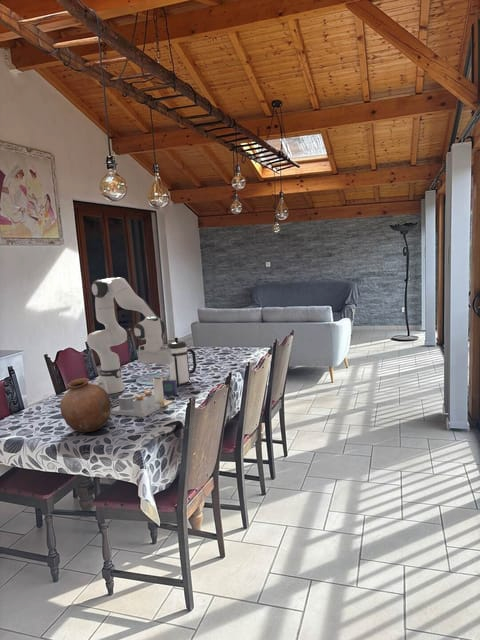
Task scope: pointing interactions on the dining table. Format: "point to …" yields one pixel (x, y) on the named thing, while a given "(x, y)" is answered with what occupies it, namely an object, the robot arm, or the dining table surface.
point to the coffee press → (180, 362)
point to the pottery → (85, 406)
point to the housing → (136, 405)
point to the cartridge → (158, 390)
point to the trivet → (165, 403)
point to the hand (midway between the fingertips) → (156, 371)
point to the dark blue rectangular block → (169, 386)
